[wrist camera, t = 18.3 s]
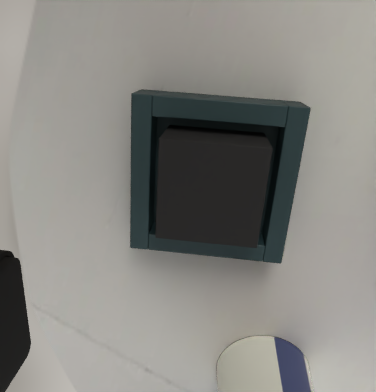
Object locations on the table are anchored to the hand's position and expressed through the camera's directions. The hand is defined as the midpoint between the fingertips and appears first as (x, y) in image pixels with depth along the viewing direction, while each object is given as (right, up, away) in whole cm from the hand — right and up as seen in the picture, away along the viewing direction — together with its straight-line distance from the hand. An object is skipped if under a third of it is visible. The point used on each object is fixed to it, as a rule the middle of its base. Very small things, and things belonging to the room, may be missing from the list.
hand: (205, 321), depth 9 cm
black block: (+1, +5, +15) cm, 16 cm away
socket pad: (+1, +5, +15) cm, 16 cm away
